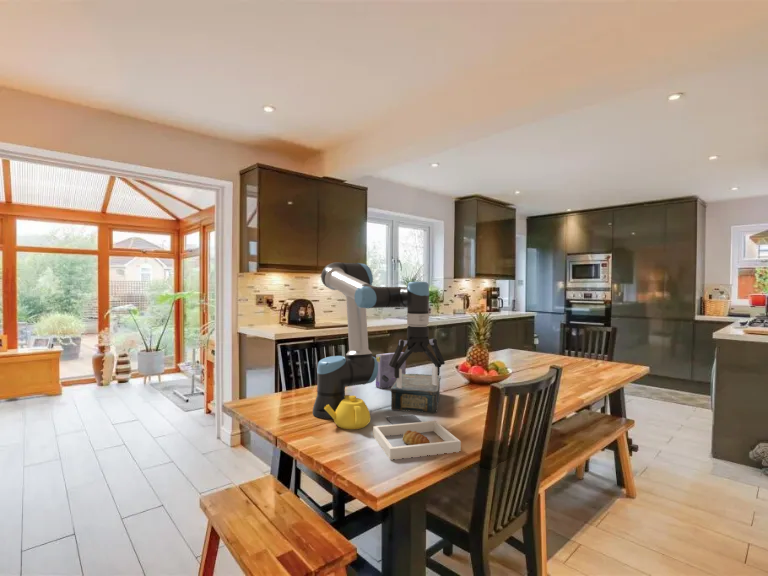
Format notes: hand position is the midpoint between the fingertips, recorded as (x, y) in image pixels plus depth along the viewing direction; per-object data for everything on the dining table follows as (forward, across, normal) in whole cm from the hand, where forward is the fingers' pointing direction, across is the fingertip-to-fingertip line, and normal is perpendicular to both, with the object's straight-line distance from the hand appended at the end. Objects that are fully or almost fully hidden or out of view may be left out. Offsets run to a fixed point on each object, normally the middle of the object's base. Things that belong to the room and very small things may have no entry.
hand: (417, 386), depth 140 cm
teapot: (+19, -19, +23) cm, 36 cm away
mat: (+19, +4, +19) cm, 27 cm away
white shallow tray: (+19, -1, -2) cm, 20 cm away
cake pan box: (+19, +18, +74) cm, 79 cm away
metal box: (+20, +20, +44) cm, 52 cm away
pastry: (+20, -1, -1) cm, 20 cm away
